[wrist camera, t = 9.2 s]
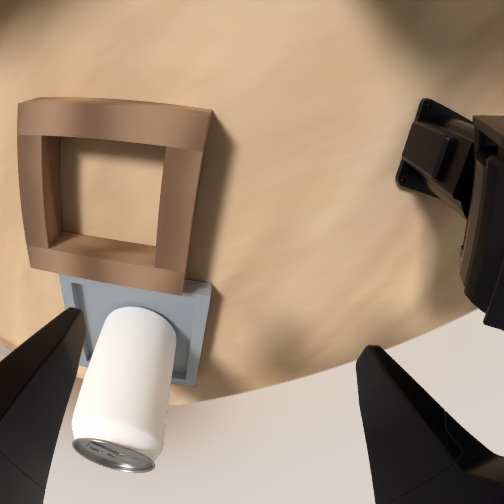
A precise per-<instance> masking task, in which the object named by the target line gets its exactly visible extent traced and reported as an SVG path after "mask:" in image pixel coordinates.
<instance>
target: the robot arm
mask: <svg viewBox="0 0 504 504" xmlns="http://www.w3.org/2000/svg"><path fill="white" fill-rule="evenodd" d="M427 103H428V104H429V107H428V108H426V104H427ZM403 176H405V178H404V180H402V181H401V178H402V177H403ZM396 181H397V183H398V184H400V185H401V186H404V187H407V188H410V189H413V190H416V191H419V192H422V193H425V194H428V195H431V196H434V197H437V198H440V199H442V200H443V201H444V202H446V203H447V204H448V205H449V206H450V207H452V208H453V209H454V210H455V211H456V212H458V213H459V214H460V215H461V216H462V217H463V218H465V219H466V220H467V224H466V231H465V237H464V243H463V245H462V246H461V251H460V255H461V258H462V259H461V265H460V276H461V279H462V282H463V284H464V286H465V290H464V293H465V295H466V296H467V297H468V298H469V300H470V301H471V302H472V303H473V304H474V305H475V306H476V307H478V308H479V309H480V310H482V311H483V312H484V313H486V315H485V317H484V320H483V323H484V324H485V325H488V326H491V327H494V328H498V329H501V330H503V331H504V116H486V115H473V122H472V121H470V120H468V119H467V118H465V117H463V116H461V115H459V114H458V113H456V112H454V111H452V110H450V109H449V108H447V107H445V106H443V105H441V104H439V103H437V102H435V101H433V100H431V99H428V98H423V99H422V100H421V102H420V104H419V108H418V111H417V114H416V118H415V121H414V122H413V123H412V126H411V129H410V132H409V136H408V139H407V142H406V145H405V148H404V150H403V153H402V160H401V163H400V166H399V168H398V171H397V174H396ZM85 336H86V324H85V319H84V313H83V311H82V309H79V308H74V307H69V308H68V309H66V310H65V311H64V312H62V313H61V314H60V315H58V316H57V317H56V318H54V319H53V320H52V321H50V322H49V323H48V324H47V325H45V326H44V327H43V328H41V329H40V330H39V331H38V332H36V333H35V334H34V335H32V336H31V337H30V338H29V339H27V340H26V341H25V342H24V343H22V344H21V345H20V346H19V347H17V348H16V349H15V350H14V351H12V352H11V353H10V354H9V355H8V356H7V357H5V358H4V359H3V360H2V361H1V362H0V504H43V500H44V495H45V489H46V484H47V479H48V475H49V470H50V466H51V462H52V458H53V454H54V449H55V446H56V442H57V438H58V434H59V431H60V427H61V424H62V420H63V417H64V414H65V410H66V407H67V404H68V401H69V397H70V394H71V391H72V388H73V385H74V382H75V379H76V375H77V371H78V366H79V361H80V357H81V353H82V349H83V344H84V340H85ZM356 372H357V384H358V394H359V405H360V411H361V416H362V421H363V427H364V432H365V438H366V443H367V450H368V455H369V462H370V468H371V474H372V482H373V489H374V496H375V503H376V504H504V457H503V456H499V455H497V454H494V453H493V452H491V451H490V450H489V449H487V448H486V447H485V446H484V445H483V444H482V443H480V442H479V441H478V440H477V439H476V438H474V437H473V436H472V435H471V434H470V433H469V432H467V431H466V430H465V429H464V428H463V427H462V426H461V425H460V424H459V423H457V422H456V421H455V420H454V419H453V418H452V417H451V416H450V415H449V414H448V413H447V412H446V411H445V410H444V409H443V408H442V407H441V406H440V405H439V404H438V403H437V402H436V401H435V400H434V399H433V398H432V397H431V396H430V395H429V394H428V393H427V392H426V391H425V390H424V389H423V388H422V387H421V386H420V385H419V384H418V383H417V382H416V381H415V380H414V379H413V378H412V377H411V376H410V375H409V374H408V373H407V372H406V371H405V370H404V369H403V368H402V367H400V365H399V364H397V362H395V360H393V359H392V358H391V357H390V356H389V355H388V354H387V353H386V352H385V351H384V350H383V349H382V348H381V347H380V346H378V345H368V346H366V347H365V349H364V350H363V352H362V354H361V355H360V357H359V358H358V360H357V362H356Z"/></svg>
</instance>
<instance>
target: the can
mask: <svg viewBox="0 0 504 504" xmlns="http://www.w3.org/2000/svg"><path fill="white" fill-rule="evenodd" d="M175 349H176V333H175V331H174V329H173V327H172V326H171V325H170V323H169V322H168V321H167V320H166V319H165V318H164V317H162V316H161V315H160V314H158V313H156V312H155V311H152V310H150V309H147V308H144V307H139V306H127V307H122V308H119V309H116V310H114V311H113V312H111V313H110V314H109V315H108V317H107V318H106V320H105V323H104V325H103V328H102V330H101V333H100V335H99V338H98V341H97V343H96V346H95V349H94V352H93V354H92V357H91V360H90V363H89V366H88V369H87V372H86V375H85V378H84V381H83V384H82V387H81V390H80V394H79V397H78V400H77V404H76V407H75V411H74V414H73V418H72V430H73V434H74V441H73V442H72V446H73V448H74V449H75V450H76V451H77V452H78V453H79V454H80V455H82V456H83V457H85V458H86V459H88V460H90V461H92V462H94V463H97V464H99V465H102V466H105V467H108V468H111V469H115V470H119V471H125V472H135V473H144V472H149V471H152V470H153V469H154V468H155V464H154V461H155V460H156V458H157V457H158V455H159V454H160V453H161V451H162V449H163V443H164V435H165V427H166V418H167V410H168V402H169V394H170V386H171V379H172V371H173V364H174V356H175Z"/></svg>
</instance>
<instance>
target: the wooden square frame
mask: <svg viewBox="0 0 504 504" xmlns="http://www.w3.org/2000/svg"><path fill="white" fill-rule="evenodd" d="M211 114H212V110H208V109H201V108H194V107H187V106H180V105H172V104H163V103H154V102H144V101H132V100H119V99H102V98H71V97H45V98H35V99H32V100H28V101H25V102H22V103H18V120H17V150H18V174H19V188H20V199H21V208H22V216H23V224H24V231H25V238H26V244H27V250H28V255H29V260H30V265H31V268H35V269H40V270H44V271H49V272H54V273H59V274H63V275H68V276H73V277H78V278H83V279H88V280H94V281H99V282H104V283H110V284H115V285H121V286H126V287H132V288H138V289H143V290H149V291H155V292H162V293H168V294H174V295H180V296H182V295H183V289H184V284H185V278H186V272H187V264H188V256H189V249H190V241H191V234H192V227H193V220H194V213H195V206H196V200H197V194H198V187H199V181H200V175H201V169H202V163H203V157H204V152H205V146H206V141H207V135H208V130H209V125H210V119H211ZM60 136H64V137H79V138H93V139H104V140H115V141H125V142H134V143H143V144H151V145H159V146H166V152H165V160H164V168H163V176H162V185H161V195H160V205H159V216H158V228H157V242H156V247H155V246H149V245H142V244H136V243H130V242H124V241H117V240H111V239H105V238H99V237H93V236H87V235H81V234H75V233H68V232H63V229H62V216H61V199H60Z"/></svg>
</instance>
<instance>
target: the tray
mask: <svg viewBox="0 0 504 504" xmlns="http://www.w3.org/2000/svg"><path fill="white" fill-rule="evenodd" d="M59 277H60V283H61V289H62V294H63V299H64V304H65V309H68V308H69V307H74V308H79V309H82V311H83V313H84V319H85V324H86V336H85V340H84V344H83V349H82V353H81V357H80V361H79V365H80V366H84V367H88V366H89V363H90V360H91V357H92V354H93V352H94V349H95V346H96V343H97V341H98V338H99V335H100V333H101V330H102V328H103V325H104V323H105V320H106V318H107V317H108V315H109V314H110V313H111V312H113V311H114V310H116V309H119V308H122V307H127V306H139V307H144V308H147V309H150V310H152V311H155V312H156V313H158V314H160V315H161V316H162V317H164V318H165V319H166V320H167V321H168V322H169V323H170V325H171V326H172V327H173V329H174V331H175V333H176V349H175V356H174V364H173V371H172V379H171V384H177V385H185V386H192V387H195V386H196V380H197V374H198V367H199V361H200V355H201V349H202V343H203V337H204V332H205V326H206V320H207V314H208V309H209V303H210V298H211V286H212V283H205V282H199V281H192V280H186V279H185V284H184V289H183V295H182V296H180V295H174V294H168V293H162V292H155V291H149V290H143V289H138V288H132V287H126V286H121V285H115V284H110V283H104V282H99V281H94V280H88V279H83V278H78V277H73V276H68V275H63V274H59Z"/></svg>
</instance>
